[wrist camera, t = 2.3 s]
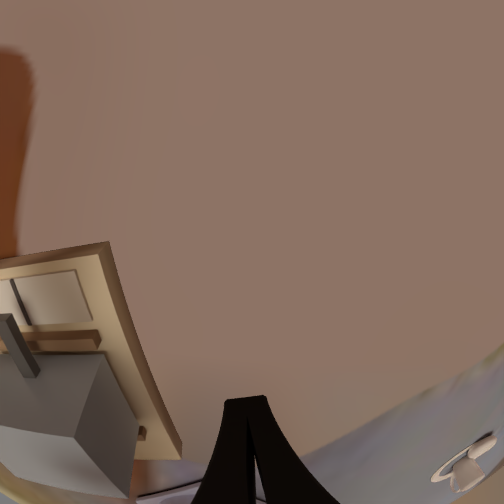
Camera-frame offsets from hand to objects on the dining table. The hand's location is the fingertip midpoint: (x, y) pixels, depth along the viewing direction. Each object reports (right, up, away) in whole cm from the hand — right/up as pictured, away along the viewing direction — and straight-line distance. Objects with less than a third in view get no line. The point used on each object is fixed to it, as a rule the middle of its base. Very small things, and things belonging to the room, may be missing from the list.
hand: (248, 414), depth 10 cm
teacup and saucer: (+26, -17, +14) cm, 34 cm away
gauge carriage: (-10, 0, 0) cm, 10 cm away
